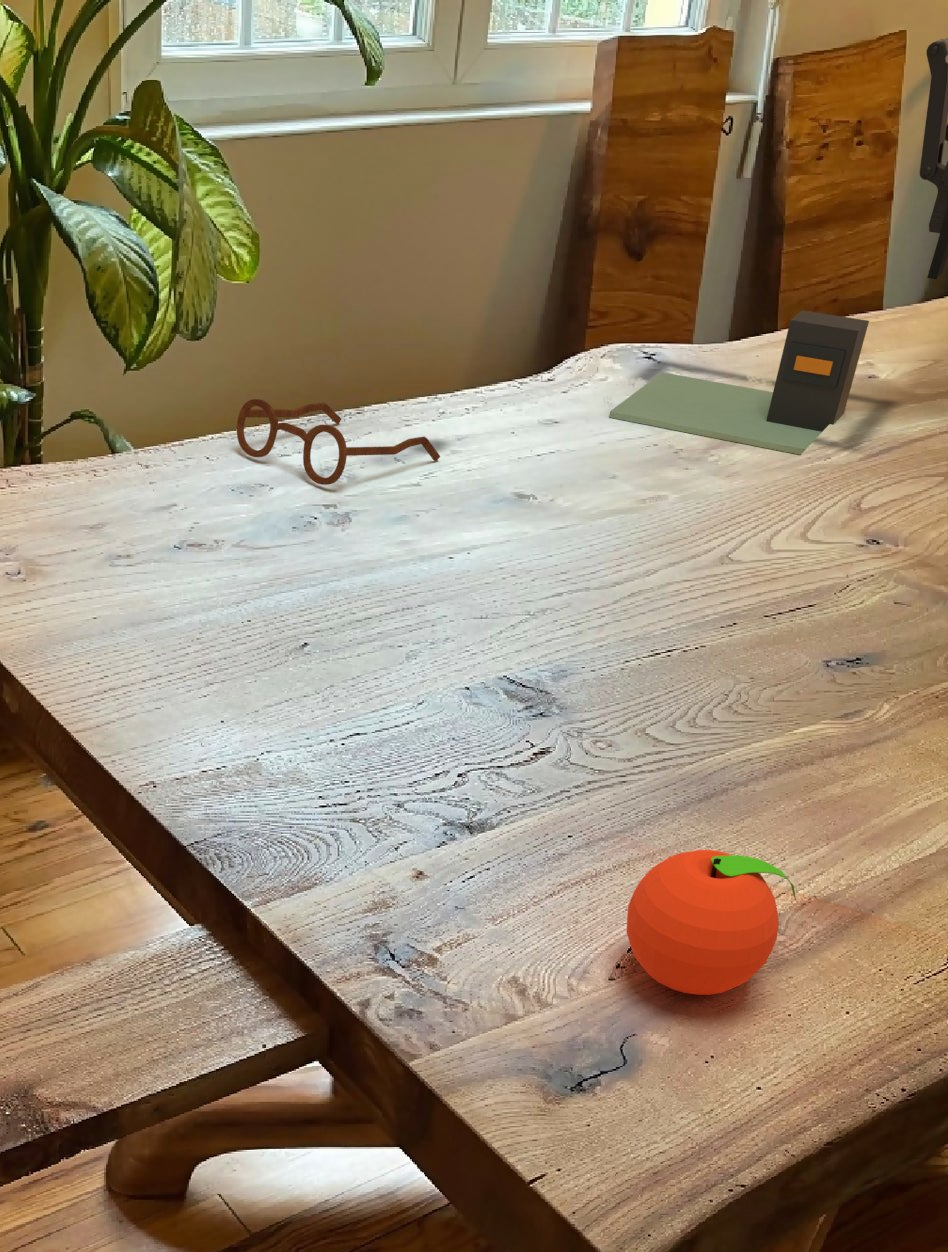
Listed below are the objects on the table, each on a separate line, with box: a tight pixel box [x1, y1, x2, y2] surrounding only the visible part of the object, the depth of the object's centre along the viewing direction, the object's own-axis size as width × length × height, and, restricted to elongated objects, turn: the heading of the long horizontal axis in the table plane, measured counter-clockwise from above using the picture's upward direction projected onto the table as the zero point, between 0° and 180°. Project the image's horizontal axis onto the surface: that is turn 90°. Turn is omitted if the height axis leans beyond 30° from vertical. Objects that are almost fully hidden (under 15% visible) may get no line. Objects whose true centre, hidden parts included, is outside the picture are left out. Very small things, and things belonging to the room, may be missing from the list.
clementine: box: [626, 849, 797, 996], centre depth 70 cm, size 8×7×7 cm
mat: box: [608, 371, 848, 456], centre depth 140 cm, size 22×15×1 cm
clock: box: [766, 309, 870, 433], centre depth 135 cm, size 6×4×9 cm
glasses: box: [236, 398, 441, 486], centre depth 128 cm, size 13×13×5 cm
